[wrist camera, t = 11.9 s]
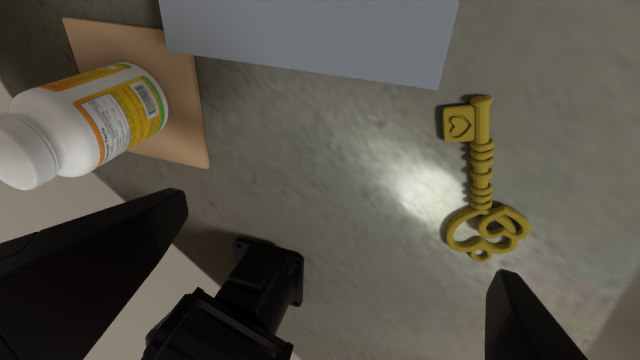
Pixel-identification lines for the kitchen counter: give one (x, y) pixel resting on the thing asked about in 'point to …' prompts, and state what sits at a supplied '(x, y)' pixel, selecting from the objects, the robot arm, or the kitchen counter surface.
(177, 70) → the pad
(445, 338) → the kitchen counter surface
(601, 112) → the kitchen counter surface
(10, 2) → the kitchen counter surface
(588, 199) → the kitchen counter surface
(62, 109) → the supplement bottle
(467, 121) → the key
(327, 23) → the grey rectangular frame
